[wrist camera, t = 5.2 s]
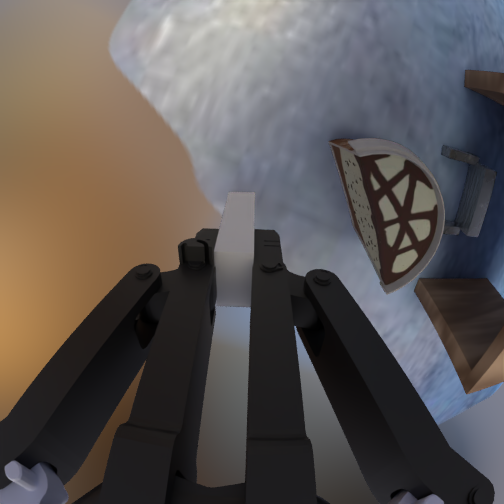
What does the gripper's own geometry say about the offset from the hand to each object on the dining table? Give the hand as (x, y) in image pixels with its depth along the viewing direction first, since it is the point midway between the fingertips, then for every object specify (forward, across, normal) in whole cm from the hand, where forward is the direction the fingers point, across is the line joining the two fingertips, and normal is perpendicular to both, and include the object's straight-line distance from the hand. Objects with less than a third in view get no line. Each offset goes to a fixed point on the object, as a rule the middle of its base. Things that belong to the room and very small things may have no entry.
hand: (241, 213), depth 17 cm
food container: (+11, +12, 0) cm, 16 cm away
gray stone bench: (+10, +23, 0) cm, 25 cm away
